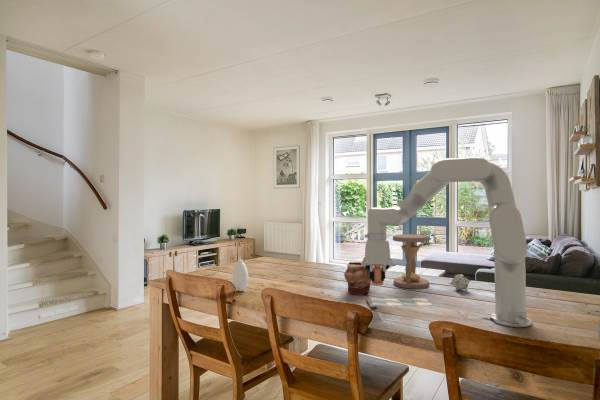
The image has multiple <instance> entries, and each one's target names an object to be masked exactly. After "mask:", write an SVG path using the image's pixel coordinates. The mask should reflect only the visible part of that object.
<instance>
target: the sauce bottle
mask: <svg viewBox="0 0 600 400" xmlns="http://www.w3.org/2000/svg"><path fill="white" fill-rule="evenodd" d="M231 279H232V285H233V284H234V285H235V287H236V289H235V290H236V291H237V290H243V289H244V290H246V289H247V287H248V285H249V279H250V278H249V272H248V268H247V266H246V263H244V261H243V259H241V256H239V259H238V260H237V262H236V263H235V265H234V267H233V269H232V275H231ZM244 290H243V291H244Z"/></svg>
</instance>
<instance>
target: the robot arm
mask: <svg viewBox="0 0 600 400" xmlns="http://www.w3.org/2000/svg"><path fill="white" fill-rule="evenodd" d="M458 182H460V183H465V182H471V183H472V182H473V183H480V184H481V185H482V186H483V188H484V191H485V196H486V201H487V207H488V221H489V225H490V226H489V227H490V232H491V237H492V243H493V251H494V252H493V253H494V255H493V257H494V312H493V313H491V314H490V320H491V321H492V322H494V323H496V324H498V325H502V326H506V327H514V328H527V327H529V326H531V325H532V320H531V318H529V317H527V295H526V292H527V290H526V289H527V288H526V285H527V284H526V278H527V277H526V274H527V273H526V257H527V254H528V245H527V239H526V233H525V228H524V224H523V219H522V215H521V214H522V213H521V212H520V210H519V209H518V207H517V205H516V200H515V197H514V196H515V195H514V193H513V188H512V184H511V180H510V178H509V176H508V174H507V173H506V172H505V171H504V169H502V168H501V166H499V165H497V164H495V163H493V162H489V161H488V160H487V159H485V158H483V157H474V156H473V157H462V158H459V157H458V158H442V159H441V158H440V159H438V160H436V161H435V162H433V164H432V165H431V167H430V170H429V171H428V172H426V173H425V175H424V176H422V177H421V178H420V179H419V180H418V181H417V182H415V183H414V184H413V186H412V187H411V189H410V191H409V193H408V194H407V196H406V197H405V198H403V200H402V201H401V202H399V203H398V204H397V205H395V206H394V207H393V206H392V207H388V208H384V207H369V208H368V210H367V234H364V238H366V241H365V247H364V249H365V250H364V257H363V259H362V261H361V265H363V266H364V267H366V268H367V269H368V270H369V271H370V279H371V282H372V281H374V272H373V267H374V265H381V268H382V282H385V279H386V272H387V270H388V269H389V268H390V267H393V266H394V265H395V263H394V261H393V260H392V259H391V250H390V249H391V248H390V242H389V240H388V239H387V226H390V227H396V226H397V227H398V226H400V225H403V224H404V223H406V222H407V221H408V220H409V219H411V218H412V217H413V216H414V215H415V214H416V213H417V212H418V211H420V210H421V209H422V208H423V207H424V206H425V205H427V204H428V203H429V202H430V201H431V200H432V199H433V198H434V197H435V196H437V194H439V193H440V192H441V191H442V190H443V189H444V188H446V187H447V186H448V185H449V184H450V183H458ZM365 263H367V264H369V266H368V265H367V264H365Z"/></svg>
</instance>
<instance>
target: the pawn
mask: <svg viewBox="0 0 600 400" xmlns="http://www.w3.org/2000/svg"><path fill="white" fill-rule="evenodd" d="M373 272H374V281H371V285H372V286H383V285H384V281H382V266H381V265H373Z"/></svg>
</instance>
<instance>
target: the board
mask: <svg viewBox="0 0 600 400" xmlns="http://www.w3.org/2000/svg"><path fill="white" fill-rule="evenodd" d="M366 302H367V305H368V306H369V308H370V310H378V307H377V306H417V305H418V306H432V305H433V304H432V303H431V302H430V301H429V300H428V299H426V298H423V297H422V298H418V297H417V298H415V297H414V298H409V297H408V298H407V297H406V298H402V297H401V298H371V297H369V298H366Z"/></svg>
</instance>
